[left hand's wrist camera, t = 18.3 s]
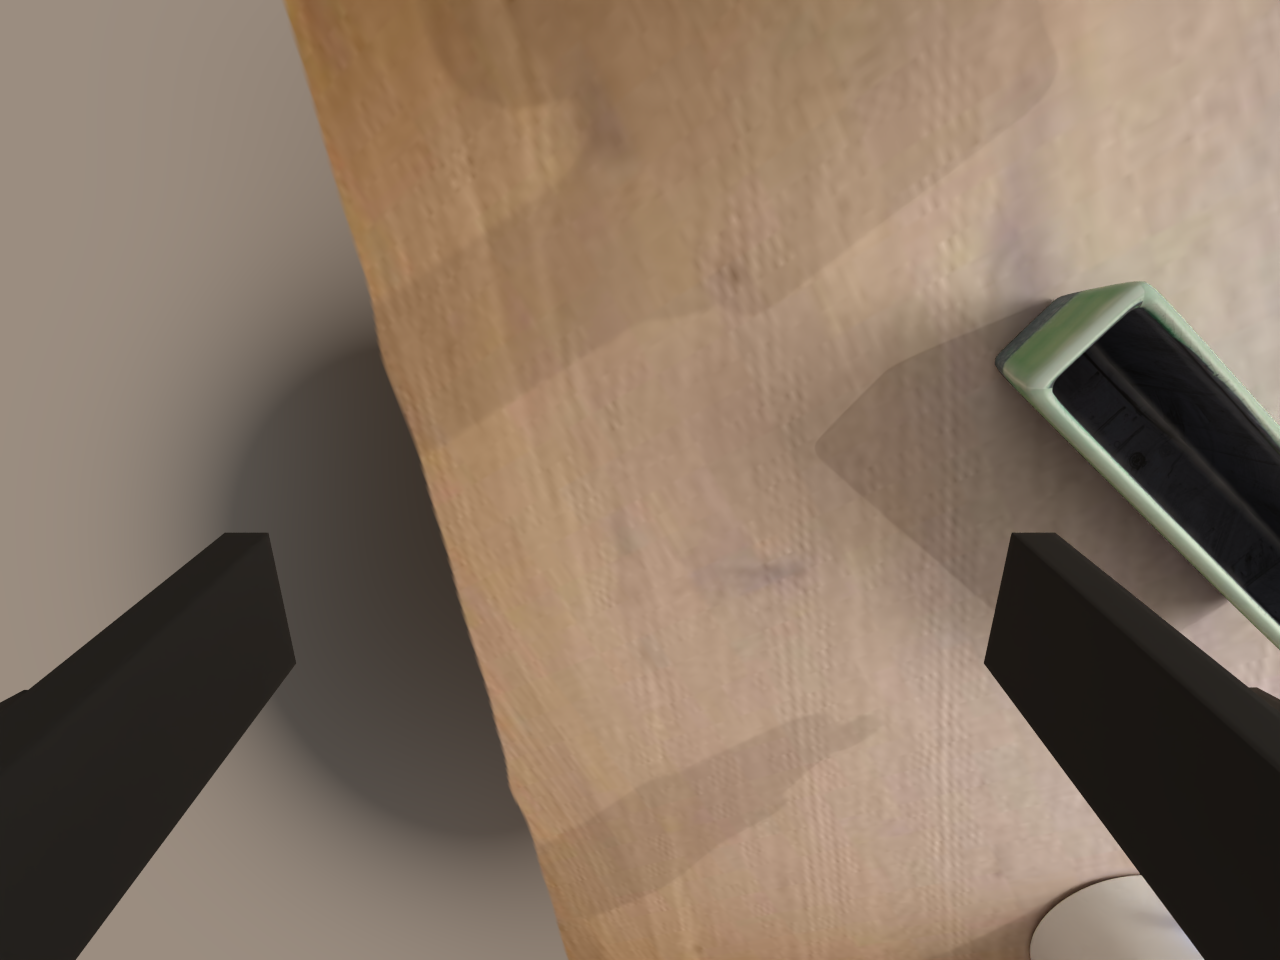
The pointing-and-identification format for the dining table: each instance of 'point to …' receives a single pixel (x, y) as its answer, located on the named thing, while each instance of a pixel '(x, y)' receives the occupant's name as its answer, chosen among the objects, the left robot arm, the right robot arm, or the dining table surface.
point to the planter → (1163, 431)
